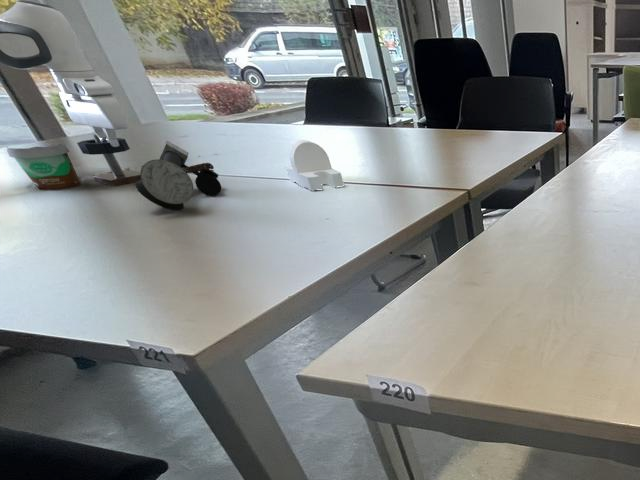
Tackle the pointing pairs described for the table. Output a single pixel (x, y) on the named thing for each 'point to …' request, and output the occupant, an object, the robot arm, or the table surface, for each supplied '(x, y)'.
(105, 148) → the ring
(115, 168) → the peg stand
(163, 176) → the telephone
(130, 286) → the table surface
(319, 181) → the white round-backed notched block
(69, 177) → the food container
